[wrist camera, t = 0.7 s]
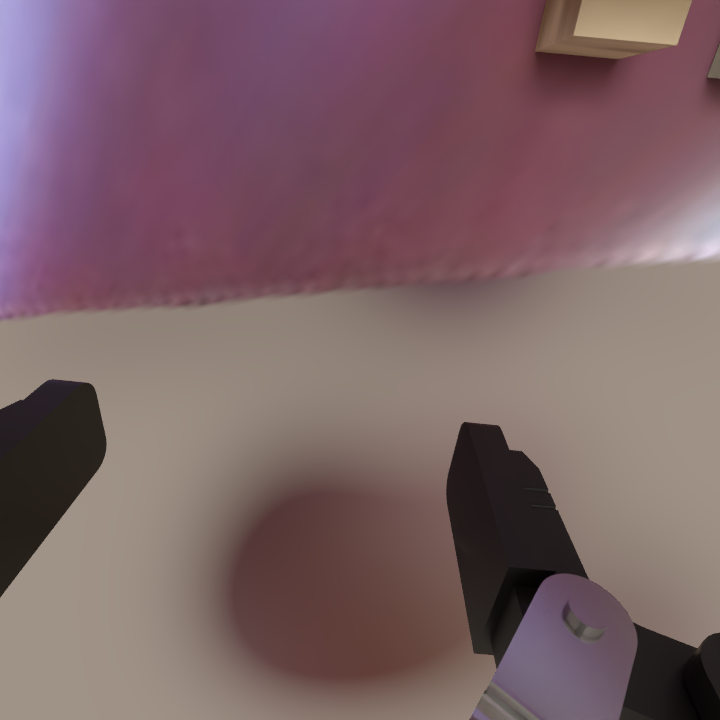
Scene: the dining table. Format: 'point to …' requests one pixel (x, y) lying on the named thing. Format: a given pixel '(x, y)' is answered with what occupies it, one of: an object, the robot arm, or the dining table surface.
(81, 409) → the robot arm
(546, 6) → the maple block
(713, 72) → the sage plinth
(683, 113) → the dining table surface
